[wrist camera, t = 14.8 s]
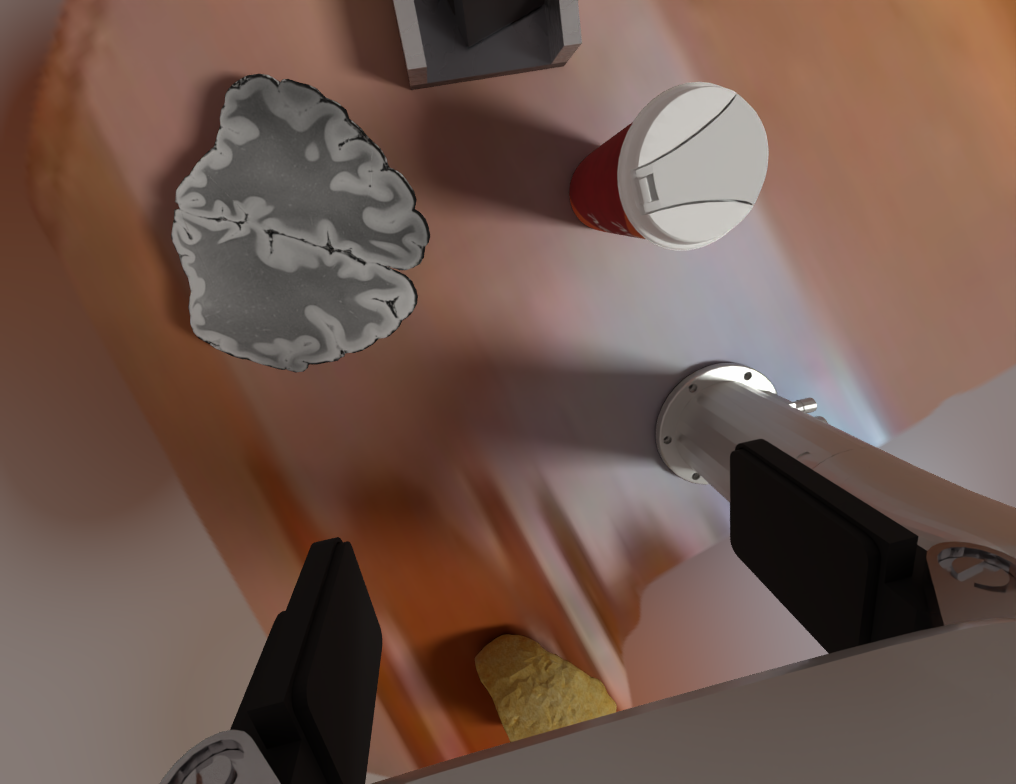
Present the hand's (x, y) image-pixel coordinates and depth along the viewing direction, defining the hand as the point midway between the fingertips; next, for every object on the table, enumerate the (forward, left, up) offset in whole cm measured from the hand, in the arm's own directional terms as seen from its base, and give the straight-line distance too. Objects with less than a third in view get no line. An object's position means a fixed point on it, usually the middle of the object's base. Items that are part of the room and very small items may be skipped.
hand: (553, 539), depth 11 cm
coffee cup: (-13, -8, -31) cm, 34 cm away
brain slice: (+10, -8, -31) cm, 33 cm away
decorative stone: (0, +42, -31) cm, 52 cm away
